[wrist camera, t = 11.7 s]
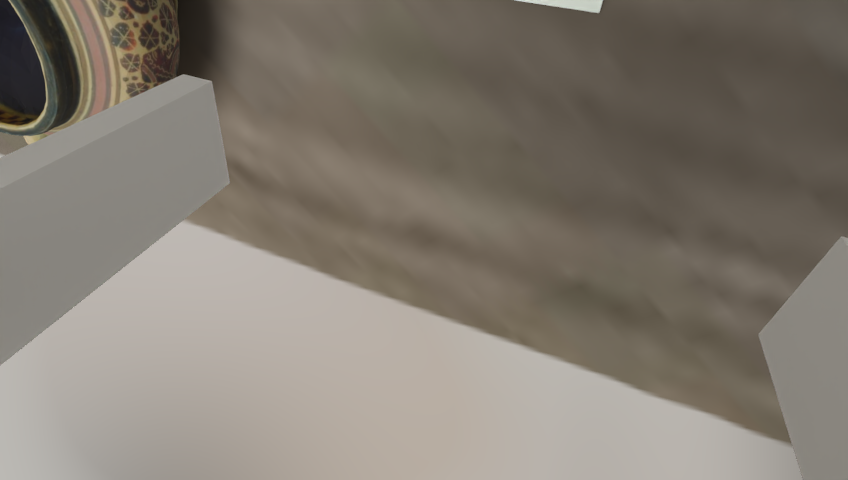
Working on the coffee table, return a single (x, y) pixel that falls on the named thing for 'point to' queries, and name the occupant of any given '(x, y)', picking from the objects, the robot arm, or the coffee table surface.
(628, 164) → the coffee table surface
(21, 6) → the ceramic bowl
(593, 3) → the pale green flat panel
